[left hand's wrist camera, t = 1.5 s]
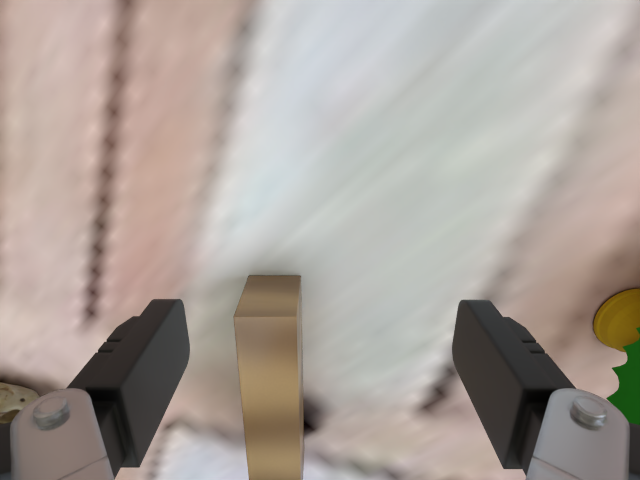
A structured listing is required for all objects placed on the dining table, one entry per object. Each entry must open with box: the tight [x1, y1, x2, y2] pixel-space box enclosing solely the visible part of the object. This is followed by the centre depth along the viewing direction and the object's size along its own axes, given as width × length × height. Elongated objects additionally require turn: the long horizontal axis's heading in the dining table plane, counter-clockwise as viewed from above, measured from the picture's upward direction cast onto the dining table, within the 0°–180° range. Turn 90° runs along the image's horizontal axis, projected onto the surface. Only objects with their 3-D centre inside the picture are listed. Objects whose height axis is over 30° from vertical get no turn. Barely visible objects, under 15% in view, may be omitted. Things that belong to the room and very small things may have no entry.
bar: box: [234, 276, 304, 480], centre depth 44 cm, size 26×6×8 cm, turn 0°
